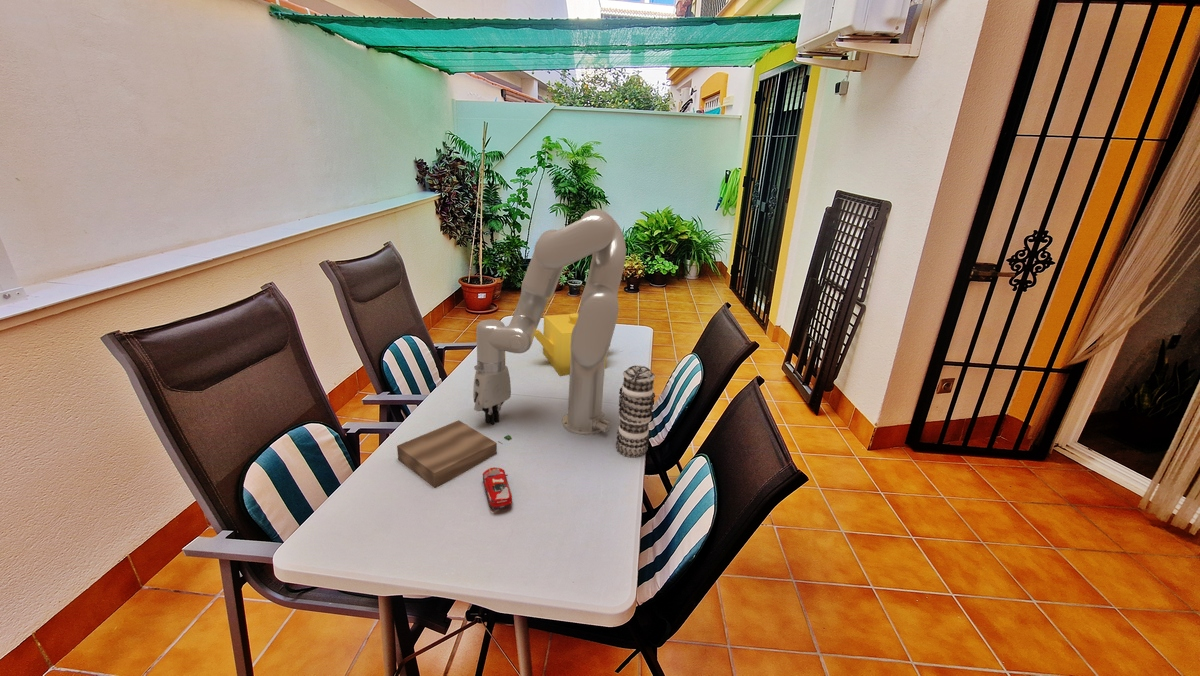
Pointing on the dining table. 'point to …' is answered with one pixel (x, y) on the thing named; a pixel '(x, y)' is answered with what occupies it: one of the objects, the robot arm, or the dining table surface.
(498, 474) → the race car
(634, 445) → the decorative candle
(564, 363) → the square teapot
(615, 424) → the dining table surface
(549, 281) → the robot arm
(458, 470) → the block
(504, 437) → the puzzle cube
